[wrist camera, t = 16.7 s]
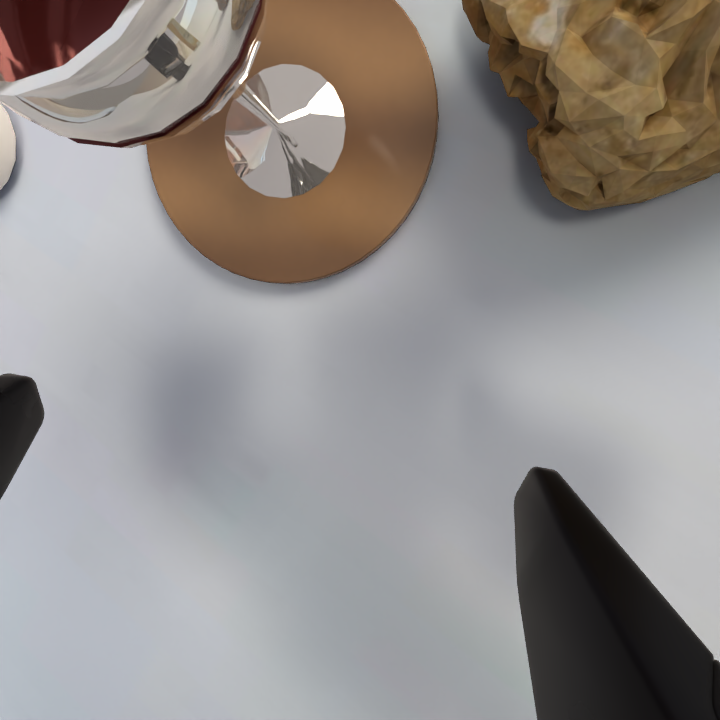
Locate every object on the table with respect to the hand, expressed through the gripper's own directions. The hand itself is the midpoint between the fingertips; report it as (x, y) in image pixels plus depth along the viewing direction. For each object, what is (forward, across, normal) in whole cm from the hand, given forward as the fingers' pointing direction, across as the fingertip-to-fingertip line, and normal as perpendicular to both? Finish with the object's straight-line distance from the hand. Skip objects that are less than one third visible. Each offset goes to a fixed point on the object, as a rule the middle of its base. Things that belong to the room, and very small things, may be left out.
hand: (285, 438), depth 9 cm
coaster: (+15, +3, -2) cm, 15 cm away
